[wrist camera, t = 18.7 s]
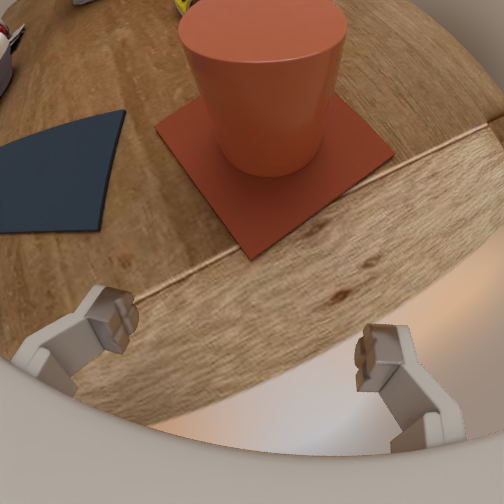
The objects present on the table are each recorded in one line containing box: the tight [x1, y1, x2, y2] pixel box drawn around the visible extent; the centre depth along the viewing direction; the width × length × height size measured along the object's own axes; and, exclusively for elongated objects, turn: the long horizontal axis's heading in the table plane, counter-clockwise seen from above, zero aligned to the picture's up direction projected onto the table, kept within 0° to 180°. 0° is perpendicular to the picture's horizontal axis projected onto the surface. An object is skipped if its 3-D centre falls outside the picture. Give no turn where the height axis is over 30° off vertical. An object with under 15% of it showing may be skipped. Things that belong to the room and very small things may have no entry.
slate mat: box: [0, 109, 126, 233], centre depth 20 cm, size 30×10×1 cm, turn 88°
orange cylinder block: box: [178, 0, 347, 177], centre depth 13 cm, size 7×7×10 cm
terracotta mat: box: [154, 92, 395, 260], centre depth 18 cm, size 12×12×1 cm
